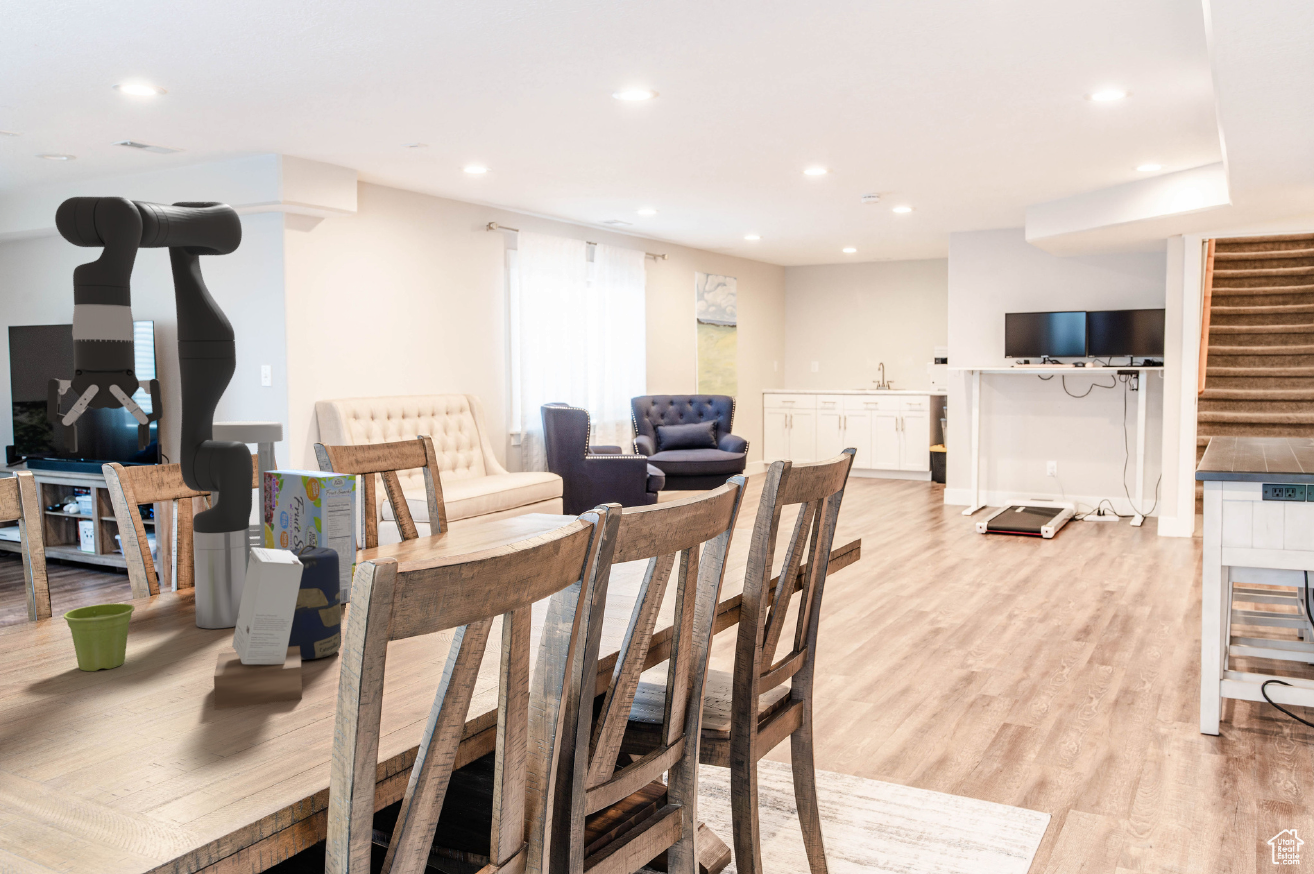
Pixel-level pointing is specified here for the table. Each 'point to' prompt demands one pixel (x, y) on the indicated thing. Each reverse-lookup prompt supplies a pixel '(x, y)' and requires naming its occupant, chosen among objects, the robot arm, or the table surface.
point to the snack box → (313, 515)
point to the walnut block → (256, 681)
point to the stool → (265, 437)
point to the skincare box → (267, 606)
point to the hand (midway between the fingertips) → (108, 450)
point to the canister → (317, 604)
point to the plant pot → (100, 634)
